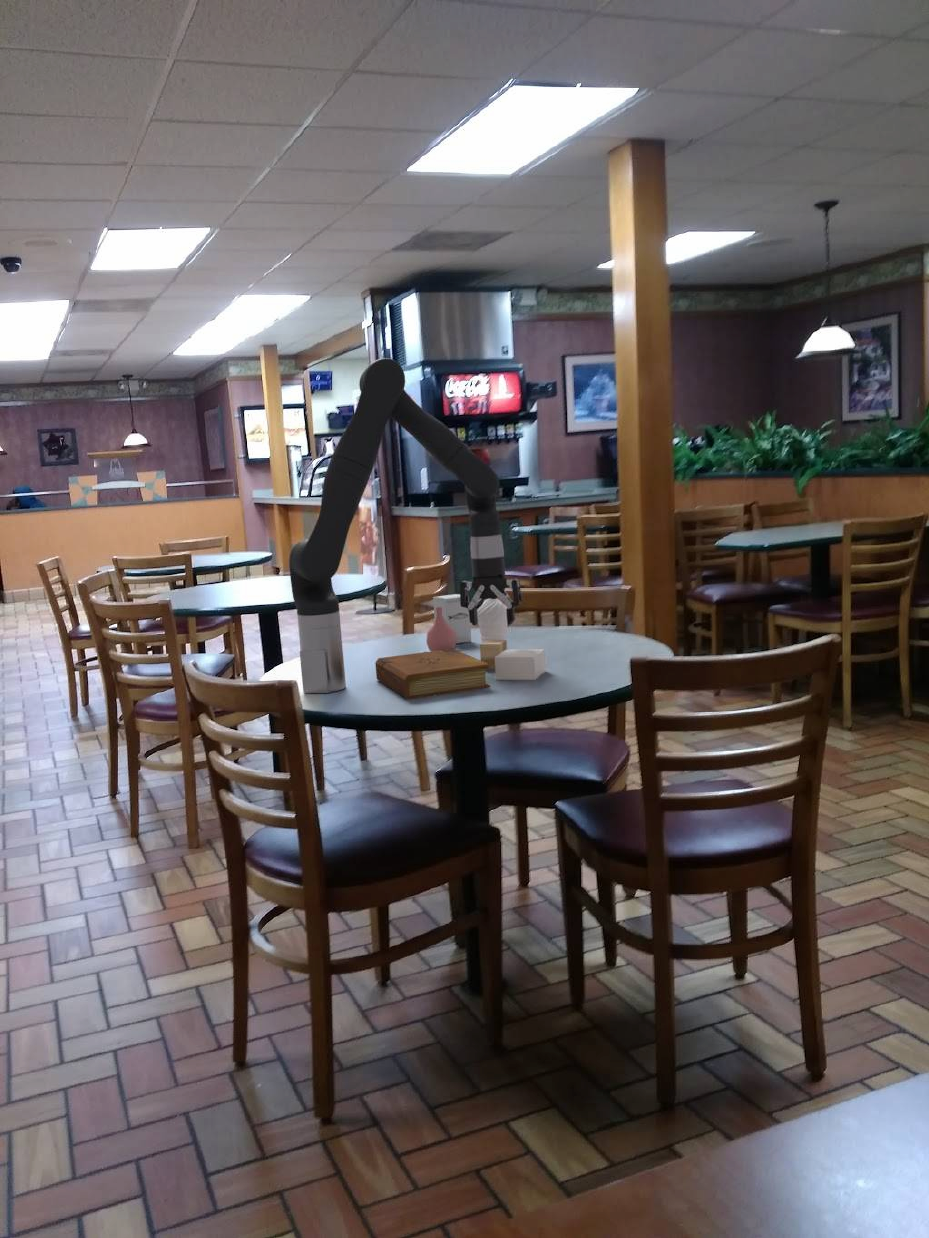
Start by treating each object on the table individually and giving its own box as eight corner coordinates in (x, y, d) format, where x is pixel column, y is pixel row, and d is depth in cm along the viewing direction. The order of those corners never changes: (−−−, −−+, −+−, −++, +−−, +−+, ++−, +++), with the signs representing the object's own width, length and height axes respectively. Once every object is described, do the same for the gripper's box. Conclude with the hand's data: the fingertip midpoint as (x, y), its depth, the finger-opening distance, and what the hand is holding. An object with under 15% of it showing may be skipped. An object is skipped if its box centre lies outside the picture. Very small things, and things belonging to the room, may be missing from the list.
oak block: (501, 669, 235) (500, 644, 235) (481, 669, 237) (479, 644, 236) (508, 665, 240) (506, 640, 239) (487, 665, 242) (486, 640, 241)
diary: (377, 683, 232) (374, 658, 232) (454, 672, 239) (452, 648, 238) (406, 701, 211) (404, 674, 210) (490, 689, 217) (488, 662, 216)
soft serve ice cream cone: (512, 660, 245) (508, 594, 242) (478, 662, 245) (473, 596, 242) (512, 654, 253) (508, 590, 250) (478, 656, 253) (474, 592, 251)
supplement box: (448, 645, 272) (444, 598, 270) (435, 642, 278) (432, 596, 276) (472, 641, 275) (469, 595, 273) (459, 638, 282) (456, 593, 280)
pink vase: (459, 650, 263) (455, 604, 261) (455, 656, 256) (452, 608, 254) (429, 652, 264) (426, 606, 262) (425, 657, 256) (421, 610, 255)
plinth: (535, 679, 221) (534, 657, 221) (496, 679, 224) (494, 657, 224) (546, 671, 230) (544, 649, 229) (507, 671, 233) (506, 649, 232)
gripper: (452, 558, 234) (458, 628, 236) (512, 555, 229) (517, 626, 231) (463, 554, 241) (468, 622, 243) (521, 551, 236) (526, 621, 238)
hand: (492, 624), depth 237 cm, fingers open, 8 cm apart
